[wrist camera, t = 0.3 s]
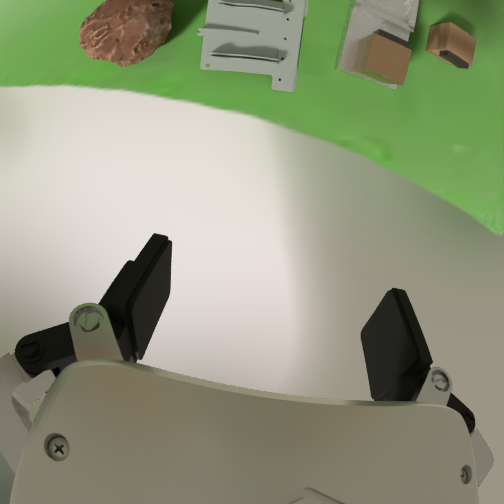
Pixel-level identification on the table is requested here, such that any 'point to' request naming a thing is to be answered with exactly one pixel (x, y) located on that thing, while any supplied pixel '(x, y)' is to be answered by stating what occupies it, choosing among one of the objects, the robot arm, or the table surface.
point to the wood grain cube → (451, 44)
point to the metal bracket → (254, 38)
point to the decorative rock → (126, 30)
